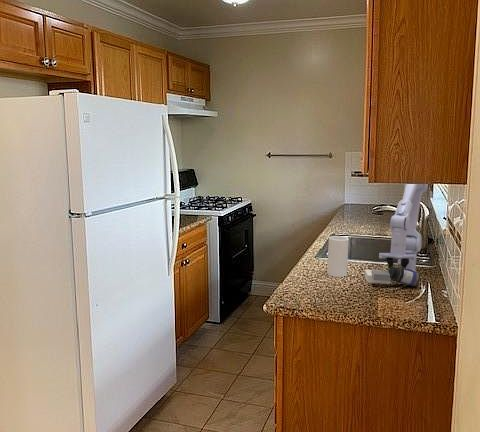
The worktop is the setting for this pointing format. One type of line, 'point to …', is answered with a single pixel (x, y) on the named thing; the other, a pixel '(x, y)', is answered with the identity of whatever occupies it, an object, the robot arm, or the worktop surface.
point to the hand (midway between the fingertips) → (396, 275)
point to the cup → (337, 256)
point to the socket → (370, 279)
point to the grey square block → (381, 275)
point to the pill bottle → (404, 275)
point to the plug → (396, 267)
